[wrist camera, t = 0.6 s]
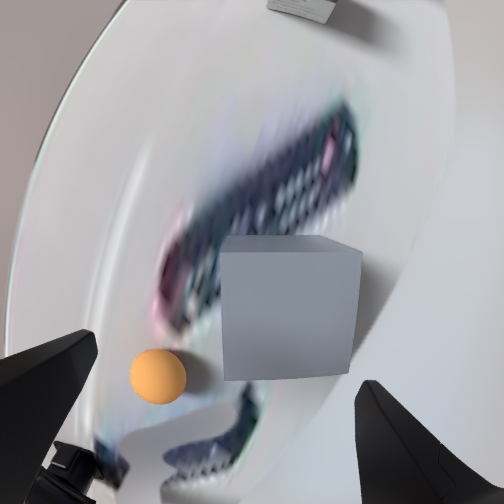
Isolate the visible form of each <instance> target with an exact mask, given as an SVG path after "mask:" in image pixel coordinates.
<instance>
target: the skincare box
mask: <svg viewBox="0 0 504 504" xmlns="http://www.w3.org/2000/svg"><path fill="white" fill-rule="evenodd" d="M337 2H338V0H267V4H266V7H267V8H269V9H273V10H278V11H283V12H286V13H290V14H294V15H298V16H301V17H304V18H307V19H310V20H313V21H316V22H319V23H322V24H325V23H326V22H327V20H328V18H329V16H330V14H331V13H332V11H333V9H334V7H335V5H336V3H337Z"/></svg>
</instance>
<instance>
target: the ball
mask: <svg viewBox="0 0 504 504" xmlns="http://www.w3.org/2000/svg"><path fill="white" fill-rule="evenodd" d="M130 380H131V384H132V386H133V388H134V390H135V392H136V393H137V394H138V395H139V396H140V397H141V398H143V399H144V400H146V401H148V402H150V403H153V404H167V403H170V402H172V401H174V400H176V399H177V398H178V397H179V396H180V395H181V394H182V392H183V391H184V389H185V386H186V380H187V378H186V371H185V368H184V366H183V364H182V363H181V361H180V360H179V359H178V358H177V357H176V356H175V355H174V354H172V353H170V352H168V351H166V350H162V349H151V350H147V351H145V352H143V353H141V354H140V355H139V356H137V358H136V359H135V360H134V362H133V364H132V366H131V370H130Z"/></svg>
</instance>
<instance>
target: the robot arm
mask: <svg viewBox="0 0 504 504" xmlns="http://www.w3.org/2000/svg"><path fill="white" fill-rule="evenodd" d="M97 355H98V349H97V344H96V339H95V334H94V333H93V332H92V331H89V330H86V329H82V330H79V331H76V332H74V333H71V334H68V335H65V336H63V337H60V338H57V339H55V340H52V341H49V342H47V343H44V344H41V345H39V346H36V347H33V348H30V349H28V350H25V351H22V352H20V353H17V354H14V355H11V356H9V357H6V358H4V359H0V504H96V501H95V500H93V499H90V498H89V497H87V496H86V494H87V492H88V490H89V488H90V485H91V483H92V481H93V479H94V478H97V479H101V480H103V479H104V476H103V474H102V472H101V470H100V468H99V466H98V464H97V462H96V460H95V458H94V456H93V454H92V453H91V452H90V451H88V450H84V449H81V448H77V447H74V446H70V445H67V444H64V443H61V442H58V441H54V439H55V437H56V435H57V433H58V432H59V430H60V428H61V426H62V424H63V422H64V421H65V419H66V417H67V415H68V413H69V412H70V410H71V408H72V406H73V404H74V403H75V401H76V399H77V398H78V396H79V394H80V392H81V390H82V388H83V386H84V384H85V382H86V380H87V377H88V375H89V373H90V371H91V369H92V366H93V364H94V362H95V360H96V358H97ZM53 441H54V443H53ZM355 441H356V451H357V459H358V468H359V476H360V485H361V497H362V504H504V488H500V487H497V486H495V485H493V484H491V483H489V482H488V481H487V480H485V479H484V478H483V477H481V476H480V475H479V474H477V473H476V472H475V471H473V470H472V469H471V468H469V467H468V466H467V465H466V464H464V463H463V462H462V461H461V460H460V459H458V458H457V457H456V456H455V455H454V454H452V452H451V451H449V450H448V449H447V448H446V447H445V446H444V445H443V444H440V443H441V442H440V441H439V440H438V439H437V438H436V437H435V436H433V434H432V433H430V432H429V431H428V430H427V429H426V428H425V427H424V426H423V425H422V424H421V423H420V422H419V421H418V420H417V419H416V418H415V417H414V416H413V415H412V414H411V413H410V412H409V411H408V410H407V409H405V408H404V407H403V406H402V405H401V404H400V403H399V402H398V401H397V400H396V399H395V398H394V397H393V396H392V395H391V394H390V393H389V392H388V391H387V390H386V389H385V388H384V387H383V386H382V385H381V384H380V383H379V382H377V381H376V380H365V381H364V382H363V383H362V385H361V387H360V389H359V391H358V394H357V396H356V398H355ZM52 443H53V444H54V446H55V448H56V450H57V452H56V454H55V455H54V457H53V458H52V460H51V464H50V465H49V467H48V468H47V470H46V469H45V468H44V467H43V466H42V462H43V460H44V458H45V456H46V455H47V453H48V451H49V449H50V447H51V445H52ZM25 499H26V500H25ZM24 501H25V502H24Z"/></svg>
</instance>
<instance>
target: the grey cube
mask: <svg viewBox="0 0 504 504" xmlns="http://www.w3.org/2000/svg"><path fill="white" fill-rule="evenodd" d="M361 266H362V252H361V251H359V250H356V249H354V248H351V247H349V246H346V245H344V244H341V243H339V242H336V241H333V240H331V239H328V238H326V237H323V236H321V235H227V236H226V239H225V241H224V244H223V247H222V249H221V252H220V269H221V311H222V341H223V366H224V380H226V381H238V380H276V379H294V378H307V377H319V376H329V375H338V374H347V373H348V372H349V367H350V360H351V354H352V348H353V341H354V334H355V326H356V318H357V309H358V300H359V290H360V278H361Z"/></svg>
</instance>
